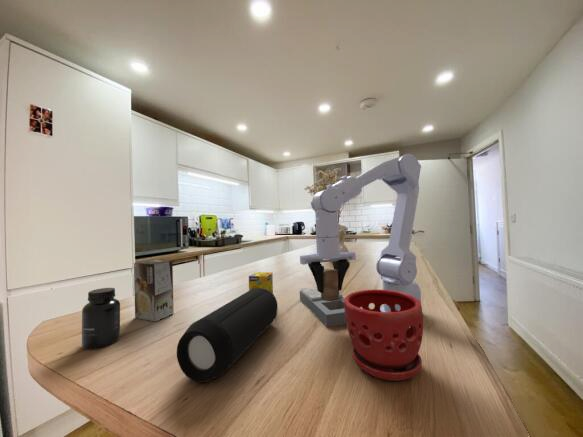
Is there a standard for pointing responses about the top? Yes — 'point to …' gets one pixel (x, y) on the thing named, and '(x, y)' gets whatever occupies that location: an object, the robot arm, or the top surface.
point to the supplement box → (261, 281)
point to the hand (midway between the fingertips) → (329, 290)
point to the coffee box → (153, 289)
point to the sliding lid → (314, 293)
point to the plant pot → (385, 333)
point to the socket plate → (326, 310)
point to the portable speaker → (225, 334)
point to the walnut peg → (330, 285)
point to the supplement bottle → (100, 319)
